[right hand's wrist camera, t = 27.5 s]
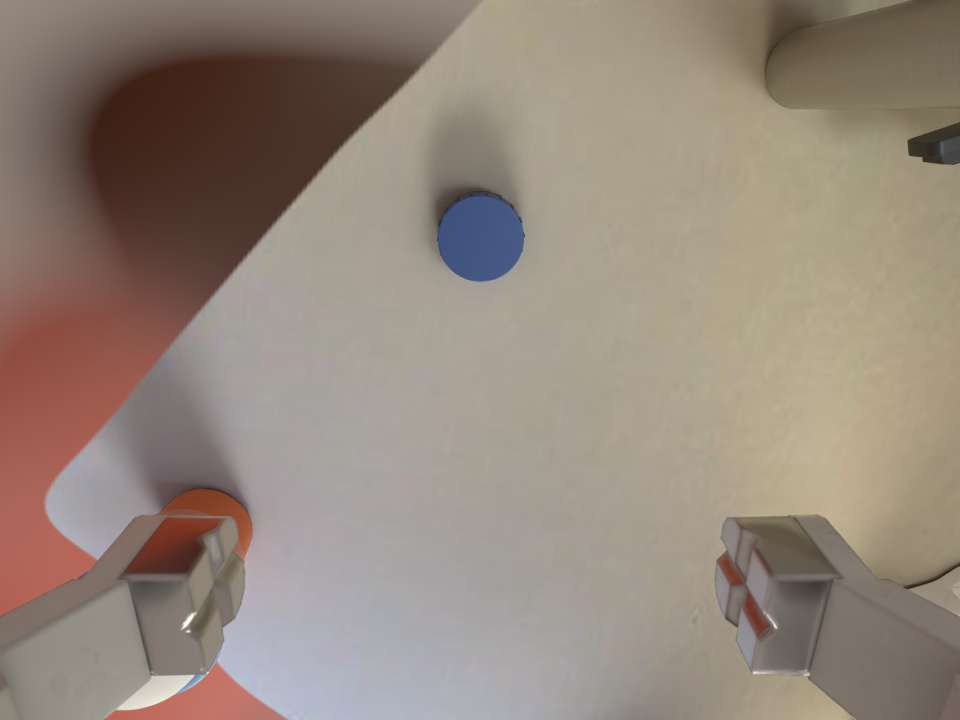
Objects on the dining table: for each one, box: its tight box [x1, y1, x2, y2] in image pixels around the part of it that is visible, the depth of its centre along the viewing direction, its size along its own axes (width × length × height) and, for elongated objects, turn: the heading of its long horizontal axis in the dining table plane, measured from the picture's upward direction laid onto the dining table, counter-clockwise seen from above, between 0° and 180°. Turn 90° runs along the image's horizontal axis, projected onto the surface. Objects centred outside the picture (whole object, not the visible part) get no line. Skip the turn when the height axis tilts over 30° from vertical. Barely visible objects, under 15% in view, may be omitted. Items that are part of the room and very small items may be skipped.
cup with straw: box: [77, 489, 252, 710], centre depth 37 cm, size 9×9×18 cm
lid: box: [437, 191, 525, 282], centre depth 37 cm, size 5×5×2 cm
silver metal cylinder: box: [765, 0, 960, 109], centre depth 26 cm, size 4×4×18 cm
